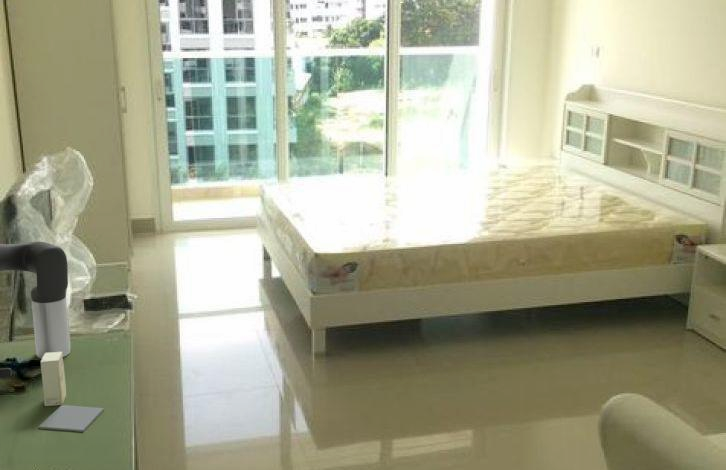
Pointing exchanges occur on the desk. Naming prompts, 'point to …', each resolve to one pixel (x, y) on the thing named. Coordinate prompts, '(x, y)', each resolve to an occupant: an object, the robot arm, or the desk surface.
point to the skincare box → (53, 378)
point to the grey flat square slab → (71, 418)
